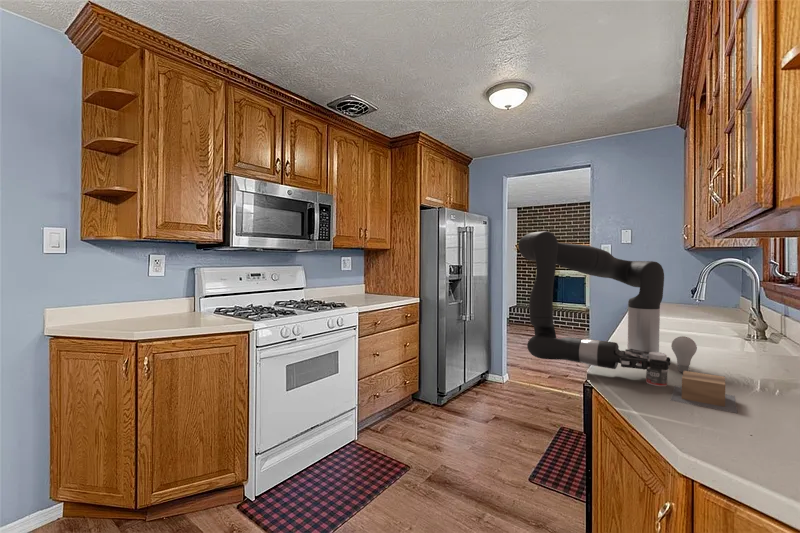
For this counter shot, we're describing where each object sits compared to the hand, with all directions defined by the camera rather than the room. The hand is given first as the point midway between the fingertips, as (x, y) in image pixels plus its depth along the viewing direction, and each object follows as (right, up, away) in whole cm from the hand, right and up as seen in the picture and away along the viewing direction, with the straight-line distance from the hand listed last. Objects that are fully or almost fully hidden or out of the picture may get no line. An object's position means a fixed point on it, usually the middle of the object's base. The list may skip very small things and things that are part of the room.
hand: (668, 363), depth 103 cm
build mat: (+2, -6, -9) cm, 11 cm away
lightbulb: (+13, -6, +13) cm, 19 cm away
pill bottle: (-2, -6, +2) cm, 7 cm away
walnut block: (+2, -6, -9) cm, 11 cm away
